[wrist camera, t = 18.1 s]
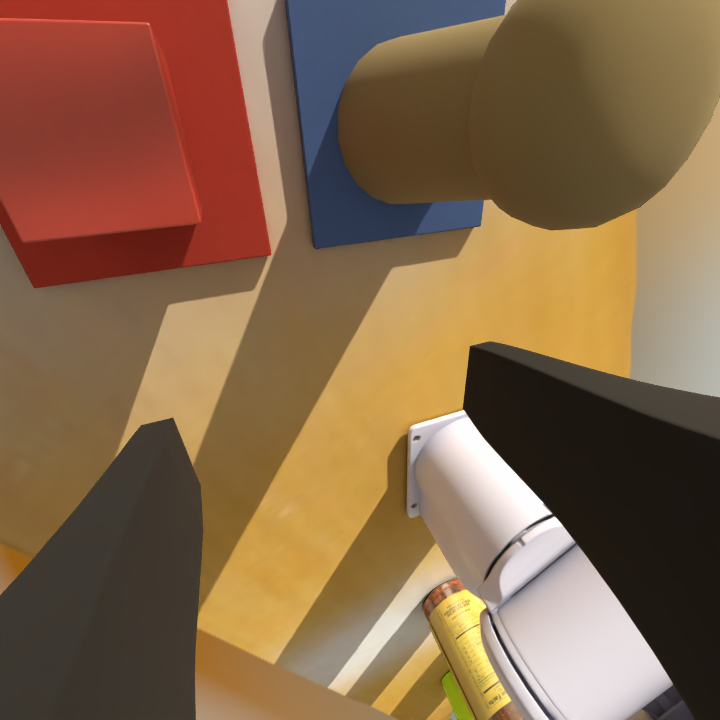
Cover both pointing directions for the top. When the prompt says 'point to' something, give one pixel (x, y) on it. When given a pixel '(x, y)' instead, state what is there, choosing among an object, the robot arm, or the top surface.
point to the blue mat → (321, 102)
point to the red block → (90, 131)
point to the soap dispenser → (455, 698)
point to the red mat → (204, 137)
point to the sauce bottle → (467, 651)
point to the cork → (536, 108)
